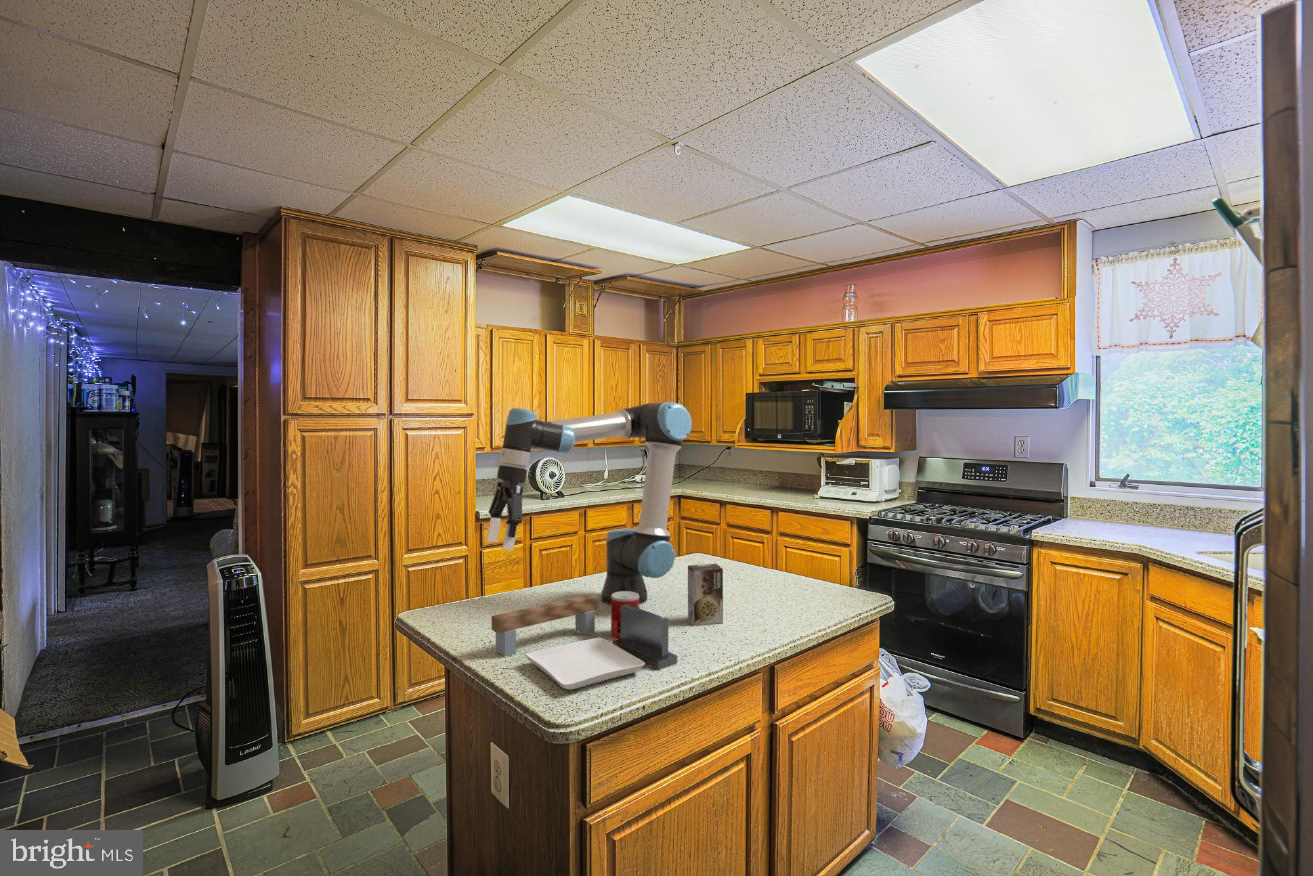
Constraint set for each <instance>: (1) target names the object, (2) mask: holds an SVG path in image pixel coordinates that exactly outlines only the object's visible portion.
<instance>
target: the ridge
mask: <svg viewBox="0 0 1313 876" xmlns="http://www.w3.org/2000/svg"><path fill="white" fill-rule="evenodd" d="M611 643H612V644H614V645H616V646H617V647H619V648H621V649H623V650H624V651H626V652H628V653H629V654H631V655H633V656H635V657H636V658H638V659H640V660H641V661H643V662H644V663H645V664H644V665H646V664H648V665H647V666H649V665H650V666H649V667H651V666H652V667H651V668H653V667H654V668H653V669H655V668H657V669H660V670H662V669H661V668H663V669H665V667H666V668H668V667H667V666H669V667H670V666H671V665H672V666H674V665H677V664H678V655H676V653H673V652H670V651H669V618H667V617H663V616H662V615H658V614H656V613H653V612H650V611H648V610H644V609H643V608H640V607H639V608H637V607H634V606H631V605H628V604H625V605H621V639H617V638H616V639H614V640H612V641H611ZM676 663H677V664H676ZM673 664H674V665H673ZM657 669H656V670H657Z"/></svg>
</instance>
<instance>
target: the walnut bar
mask: <svg viewBox="0 0 1313 876" xmlns="http://www.w3.org/2000/svg"><path fill="white" fill-rule="evenodd" d="M598 600H599V598H598V596H596V595H592V594H586V595H583V596H578V597H577V596H576V597H572V598H567V599H564V600H560V601H555V602H549V603H546V604H540V605H536V606H531V607H527V608H522V609H518V610H513V611H510V612H505V613H503V612H502V613H499V614H495V615H491V630H492V631H493V632H495V634H496V633H502V632H507V631H511V630H519V629H522V628H527V627H531V626H535V625H539V624H544V623H547V622H552V621H556V620H561V619H564V618H569V617H573V616H575V615H578V614H582V613H586V612H590V611H598V606H599V605H598V602H599V601H598Z"/></svg>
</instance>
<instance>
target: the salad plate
mask: <svg viewBox="0 0 1313 876" xmlns="http://www.w3.org/2000/svg"><path fill="white" fill-rule="evenodd" d="M525 657H526V658H527V659H528V661H530V663H532V664H533V665H534V666H536V667H537V668H539V669H540V670H541V671H543V672H544V673H545V674H546V675H548V676H549V677H550V678H551V679H552V680H553V681H555V682H556V683H557V684H558V686H560V687H561V688H563V689H565V690H576V689H580V688H583V687H587V685H588V686H590V685H591V684H592V685H595V684H598V682H599V683H601V681H603V682H606V681H609V680H608V679H610V680H613V679H615V677H617V678H619V676H620V677H623V676H626V675H627V676H628V675H629V674H630V675H631V674H633V673H635V672H637V671H640V670H641V669H642V668H643V667H644V666H645V665H646V664H645V663H644V662H643V661H641V660H640V659H638V658H636V657H635V656H633V655H631V654H629V653H628V652H626V651H624V650H623V649H621V648H619V647H617V646H616V645H614V644H612V641H609V640H607V639H605V638H603V637H595V638H590V639H585V640H584V639H583V640H580V641H575V642H571V643H570V642H569V643H565V644H561V645H556V646H551V647H547V648H542V649H539V650H534V651H530V652H526V653H525ZM612 678H613V679H612ZM605 680H606V681H605ZM594 683H595V684H594ZM592 685H591V686H592ZM579 687H580V688H579Z"/></svg>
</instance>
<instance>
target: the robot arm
mask: <svg viewBox="0 0 1313 876" xmlns="http://www.w3.org/2000/svg"><path fill="white" fill-rule="evenodd" d="M692 425H693V424H692V418H691V415H690V413H689V411H688V410H687V408H686V407H685V406H684V405H682V404H680V403H679V402H678V403H677V402H671V401H666V402H655V403H654V402H651V403H650V402H648V403H643V404H639V405H636V406H631V407H626V408H620V409H617V411H616V412H612V413H604V414H597V415H589V416H580V417H572V418H564V419H558V420H557V419H556V420H549V421H541V420H540V419H538V415H537V412H536V411H534V410H533V411H532V410H530V409H526V408H517V407H516V408H514V407H513V408H511V409H510V410H509V411H508V414H507V418H506V423H505V428H504V435H503V436H504V437H503V442H502V443H503V444H502V448H501V450H500V451H499V455H500V459H499V462H500V465H499V466H498V470H497V475H496V478H497V480H502V481H498V482H497V485H496V490H495V492H494V496H493V498H492V502H491V503H490V507H489V510H488V514H489V516H490V520H489V525H488V531H487V536H486V542H487V543H488V542H490V543H491V542H492V543H498V539H499V534H500V529H501V528H500V527H501V523H502V519H503V511H504V510H505V508H507V509H506V510H507V519H506V521H505V524H506V525H505V526H506V527H505V531H504V532H505V533H504V537H503V542H502V549H501V550H503V551H504V550H506V551H514V548H515V542H516V537H517V533H518V532H517V531H518V526H519V524H522V523H523V491H524V486H520V485H519V483H525V482H526V480H527V474H528V470H527V469H526V468H528V467H529V463H530V458H531V451H532V450H542V451H550V452H556V453H564V454H566V453H569V452H570V451H572V449H573V448H574V445H575V443H576V444H577V443H582V442H588V441H596V440H601V439H603V440H604V439H607V438H610V439H611V438H615V437H620V438H622V439H630V438H633V439H634V438H637V439H644V444H645V445H646V447H647V448H648V453H647V459H646V460H647V461H646V469H645V475H644V476H645V477H644V484H643V492H642V499H641V506H640V512H639V513H640V515H639V522H638V525H637V526H636V527H635V528H633V527H631V528H629V527H628V528H620V529H612V530H609V531H607V534H606V541H605V543H606V576H605V579H604V580H605V581H604V584H603V587H602V590H601V599H600V600H601V601H602V602H603V603H605V604H608V605H611V595H612V594H613V593H616V592H620V591H631V592H635V593H638V594H639V605H640V604H642V603H645V602H646V601H647V600H648V590H647V586H646V583H645V580H644V578H645V577H646V578H651V579H658V578H659V579H660V578H662V577H664V576H666V574H667V573H668V572H670V570H671V569H672V568H673V566H674V564H675V560H676V551H675V548H674V547H673V545H672V544H671V543H670V541H671V539H670V538H671V533H670V532H669V530H668V529H667V527H668V526H667V525H668V518H669V517H668V516H669V510H670V502H671V495H672V487H673V478H674V473H675V472H674V470H675V463H676V455H677V452H678V451H680V450H681V449H682V445H683V440H685V439H686V438H687V437H688V436H689V435H690V433H691V431H692ZM643 577H644V578H643Z"/></svg>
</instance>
